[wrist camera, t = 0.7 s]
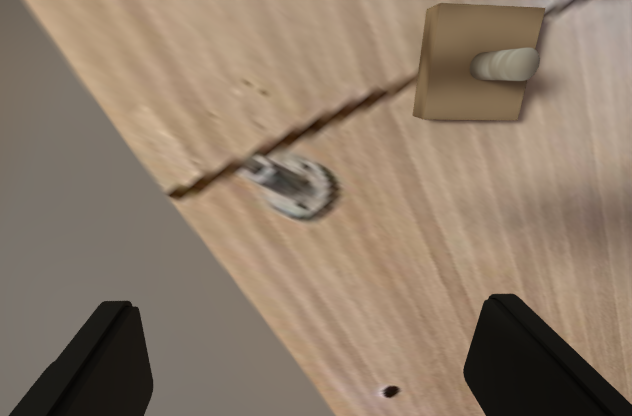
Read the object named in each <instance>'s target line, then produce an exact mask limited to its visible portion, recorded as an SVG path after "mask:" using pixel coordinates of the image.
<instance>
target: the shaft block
mask: <svg viewBox="0 0 632 416" xmlns="http://www.w3.org/2000/svg"><path fill="white" fill-rule="evenodd" d="M544 12H545V8H536V7H514V6H493V5H471V4H449V3H440V4H437V5H435V6H433V7H431V8H429V9H427V11H426V19H425V26H424V34H423V41H422V49H421V57H420V64H419V72H418V80H417V87H416V95H415V102H414V110H413V116H415V117H418V118H421V119H439V120H517V119H518V115H519V111H520V107H521V103H522V99H523V95H524V91H525V87H526V83H527V79H529V78H531V77H532V76H533V75H534V74H535V72H536V71H537V69H538V67H539V62H540V58H539V54H538V52H537V51H536V50H535V47H536V43H537V39H538V35H539V31H540V28H541V24H542V20H543V16H544Z"/></svg>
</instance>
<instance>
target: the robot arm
mask: <svg viewBox="0 0 632 416" xmlns="http://www.w3.org/2000/svg"><path fill="white" fill-rule="evenodd" d="M463 373H464V378H465V381H466V383H467V384H468V386H469V388H470V390H471V391H472V393H473V395H474V396H475V398H476V400H477V401H478V403H479V405H480V406H481V408H482V410H483V411H484V413H485V415H486V416H632V404H630V403H629V402H628V401H627V400H626V399H625V398H624V397H623V396H622V395H621V394H620V393H619V392H618V391H617V390H616V389H615V388H614V387H613V386H612V385H611V384H609V383H608V382H607V381H606V380H605V379H604V378H603V377H602V376H601V375H600V374H599V373H598V372H597V371H596V370H595V369H594V368H593V367H592V366H591V365H589V364H588V363H587V362H586V361H585V360H584V359H583V358H582V357H581V356H580V355H579V354H578V353H577V352H576V351H575V350H574V349H573V348H572V347H571V346H569V345H568V344H567V343H566V342H565V341H564V340H563V339H562V338H561V337H560V336H559V335H558V334H557V333H556V332H555V331H554V330H553V329H552V328H551V327H550V326H548V325H547V324H546V323H545V322H544V321H543V320H542V319H541V318H540V317H539V316H538V315H537V314H536V313H535V312H534V311H533V310H532V309H531V308H530V307H528V306H527V305H526V304H525V303H524V302H523V301H522V300H521V299H520V298H519V297H518V296H516V295H515V294H492V295H491V296H489V298H488V300H485V301H484V303H483V306H482V310H481V313H480V316H479V319H478V323H477V326H476V329H475V332H474V336H473V339H472V342H471V346H470V349H469V352H468V355H467V359H466V362H465V365H464V369H463ZM152 392H153V378H152V373H151V368H150V363H149V358H148V353H147V348H146V343H145V337H144V332H143V327H142V322H141V317H140V312H139V309H138V307H133V306H132V304H131V302H130V301H104V302H102V303H101V304H100V305H99V306H98V307H97V309H96V310H95V311H94V312H93V314H92V315H91V316H90V318H89V319H88V320H87V321H86V323H85V324H84V325H83V326H82V328H81V329H80V330H79V331H78V333H77V334H76V335H75V337H74V338H73V339H72V340H71V342H70V343H69V344H68V345H67V347H66V348H65V349H64V350H63V352H62V353H61V354H60V356H59V357H58V358H57V360H56V361H54V362H53V363H52V364H50V366H49V367H48V368H46V370H45V371H44V372H43V373H42V375H41V376H40V377H39V378H38V380H37V381H36V382H35V383H34V385H33V386H32V387H31V388H30V390H29V391H28V392H27V394H26V395H25V396H24V397H23V398H22V400H21V401H20V402H19V403H18V405H17V406H16V407H15V408H14V410H13V411H12V412H11V413H10V415H9V416H144V414H145V411H146V409H147V406H148V404H149V401H150V399H151V396H152Z"/></svg>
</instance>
